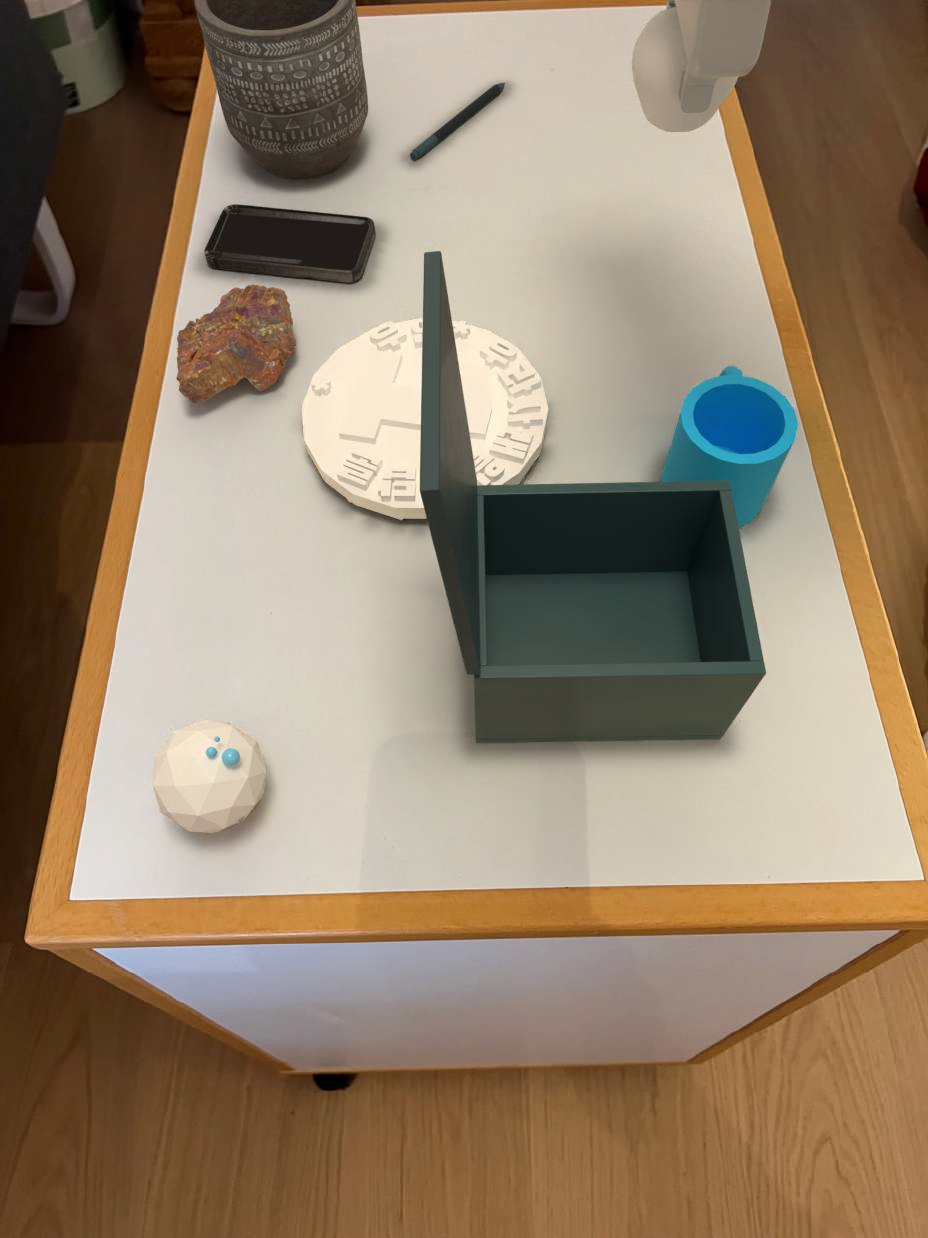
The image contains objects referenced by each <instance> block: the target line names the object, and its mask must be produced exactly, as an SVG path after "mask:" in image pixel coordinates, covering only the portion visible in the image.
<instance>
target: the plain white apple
mask: <svg viewBox="0 0 928 1238" xmlns="http://www.w3.org/2000/svg"><path fill="white" fill-rule="evenodd" d="M631 57H632V58H631V71H632V72H631V73H632V79H633V83H634V88H635V90H636V94H637V97H638V100H639V103H640V106H641V109H642V112H643V114H644V117H645V119H646V121H648V123H650V124H651V125H652V126H654V127H656V128H657V129H659V130H661V131H664V132H667V133H688V132H689V133H690V132H692V131H695V130H697V129H700V128H701V127H703V126H705V125H706V124H707V123H708V122H709V121H710V120H711V119H712V118H713V117H714V116H715V114H716V112H717V111H718V110H719V109H720V107H721V106H722V104H723V103H724V102H725V100H726V99H727V98H728V96H730V94H731V93H732V91H733V89H734V88H735V85H736V84H737V82H738V79H739V77H730V78H718V80H717V81H716V83H715V85H714V88H713V93H712V97H711V102H710V106H709V108H708V109H707V110H706V111H705V112H702V113H685V112H683V111H682V109H681V106H680V99H679V89H680V83H681V77H682V71H686V67H687V58H686V53H685V49H684V44H683V39H682V34H681V29H680V24H679V19H678V15H677V10H676V7H674V8H669V9H666V8H665V9H663V10H660V11H659V12H657V13H656V14H655V15H654V16H653V17H651V18H650V19H649V21H648V22H647V23H646V24H645V26H644V27H643V28H642V30H641V32H640V34H639V35H638V37H637V39H636V41H635V43H634V47H633V50H632V56H631Z"/></svg>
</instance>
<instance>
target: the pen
mask: <svg viewBox="0 0 928 1238" xmlns="http://www.w3.org/2000/svg"><path fill="white" fill-rule="evenodd" d="M505 85H506V82H500V83H496V84H494V85H492V86H491V87H489V88H488V89H487V90H486V91H485V92H484V93H482V94H481V95H480V96H479V97H477V98H476V99H475V100H473V101H472V102H471V103H470V104H468V105H467V106H466V107H464V108H463V109H462V110H461V111H460V112H459V113H457V114H456V115H455V116H454V117H452V118H451V119H450V120H448V121H447V122H445V124H443V125H442V126H441V127H439V128H438V129H437V130H436V131H435V132H434V133H432V134H431V135H430V136H428V137H427V138H425V139H424V141H422V142H421V143H419V144H418V145H417V146H416V147H414V148H413V149H412V150H411V152H410V154H409V157H410V159H411V160H412V161H413V162H415V161H417V160H420V159H421V158H422V157H423V156H425V155H426V154H427V153H429V152H430V151H431V150H432V149H434V147H436V146H437V145H438V144H440V143H441V142H442V141H443V140H445V139H446V138H447V137H448V136H449V135H451V134H452V133H453V132H455V131H456V130H457V129H458V128H459V127H460V126H462V125H463V124H465V122H467V121H468V120H470V118H472V117H473V116H474V115H476V114H477V113H478V112H479V111H480V110H482V109H483V108H484V107H485V106H486V105H488V104H489V103H490V102H491V101H493V100H494V99H495V98H497V96H499V95H500V94H501V92H502V91H503V89H504V88H505Z"/></svg>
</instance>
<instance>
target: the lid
mask: <svg viewBox="0 0 928 1238" xmlns="http://www.w3.org/2000/svg"><path fill="white" fill-rule="evenodd" d="M422 289H423V290H422V291H423V292H422V293H423V294H422V300H423V301H422V318H423V336H422V389H421V442H420V494H421V498H422V502H423V506H424V510H425V514H426V518H427V519H426V522H427V525H428V529H429V533H430V537H431V540H432V541H431V542H432V545H433V548H434V552H435V556H436V560H437V564H438V567H439V573H440V576H441V580H442V583H443V588H444V591H445V595H446V598H447V603H448V606H449V610H450V614H451V618H452V622H453V626H454V630H455V634H456V637H457V638H456V639H457V642H458V646H459V650H460V654H461V658H462V661H463V665H464V669H465V673H466V675H467V676H472V675H473V676H474V675H475V674H481V661H480V610H479V559H478V508H477V477H476V471H475V465H474V458H473V452H472V446H471V439H470V433H469V427H468V420H467V414H466V407H465V401H464V395H463V388H462V382H461V376H460V369H459V363H458V356H457V350H456V344H455V337H454V331H453V325H452V320H453V319H452V312H451V307H450V302H449V301H450V300H449V294H448V287H447V281H446V274H445V267H444V261H443V256H442V252H441V250H436V251H435V250H433V251H425V252H424V253H423V288H422Z"/></svg>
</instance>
